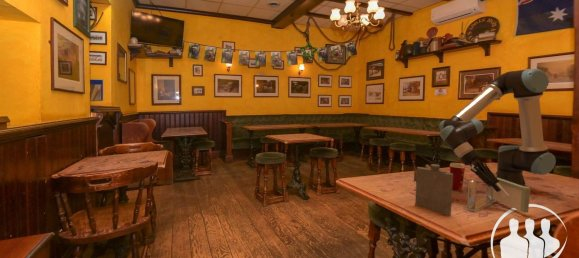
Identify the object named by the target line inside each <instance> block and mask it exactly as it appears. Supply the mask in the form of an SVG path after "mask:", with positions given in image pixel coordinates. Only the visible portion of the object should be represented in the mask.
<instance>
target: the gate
mask: <svg viewBox="0 0 579 258" xmlns="http://www.w3.org/2000/svg"><path fill="white" fill-rule="evenodd" d="M497 179H498V180H499V182H498V183H499V184H500V186H501V187H502V188H503V189H504V190H505V191H506V192H507V193H508V194H509V196H508V197H506V198H504V199H502V198H501V197H500V195H499V194H498V193H497V192H496V191H495V190H494V189H493V199H494V200H497V202H499V203H501V204H504V205H506V206H508V207H509V208H513V209H515V210H517V211H518V212H519V211H520V212H522V213H526V214H527V213H529V208H530V205H529V204H530V193H531V187H528V186H525V187H524V186H521V185H518V184H515V183H512V182H509V181H506V180H503V179H500V178H497Z"/></svg>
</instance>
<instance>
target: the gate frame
mask: <svg viewBox="0 0 579 258" xmlns="http://www.w3.org/2000/svg"><path fill="white" fill-rule="evenodd" d="M492 173H493V174H494V175H495V177H496V178H497V174H496V172H495V173H494V172H492ZM477 184H478V183H477V180H475V179H469V180H468V185H467V197H466V198H467V200H466V205H464V206H463V207H462V209H463V210H467V211H470V212H473V213H477V212H478V211H481V210H482V209H484V208H487V207H489V206H490V205H492V204H495V203H497V202H498V201H497V200H494V199H493V188H492V187H488V185H487V184H486V192H485V194H486V196H484V197H482V198H481V197H480V198H479V199H476V197H477V196H476V195H477V194H476V193H477Z"/></svg>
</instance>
